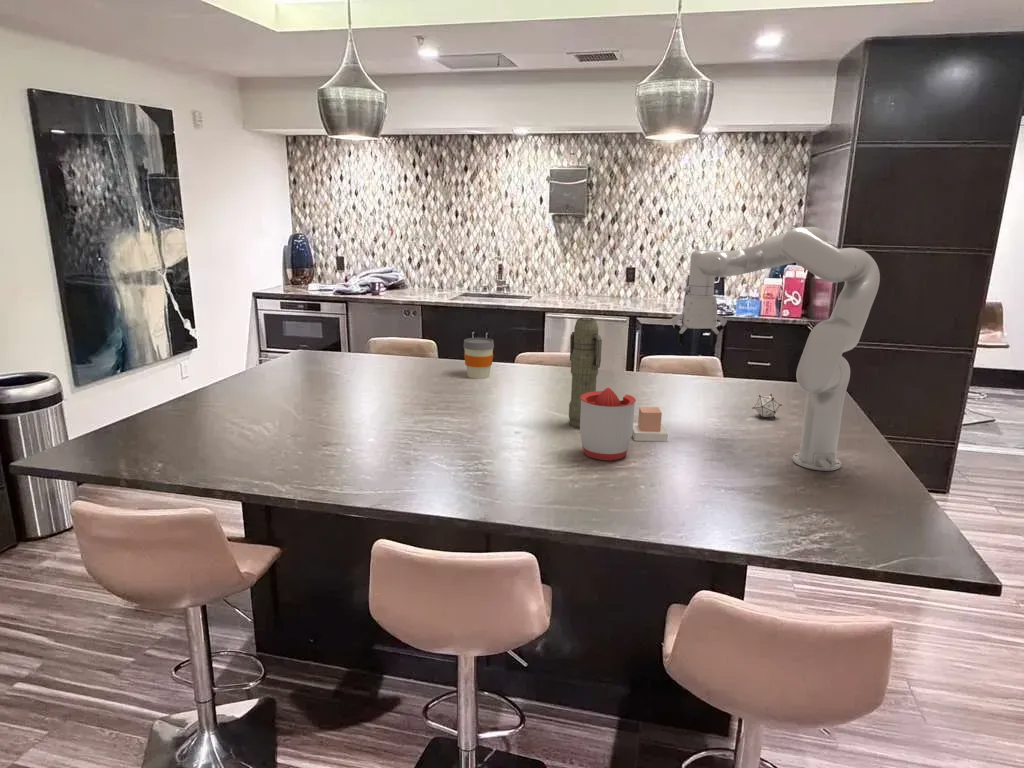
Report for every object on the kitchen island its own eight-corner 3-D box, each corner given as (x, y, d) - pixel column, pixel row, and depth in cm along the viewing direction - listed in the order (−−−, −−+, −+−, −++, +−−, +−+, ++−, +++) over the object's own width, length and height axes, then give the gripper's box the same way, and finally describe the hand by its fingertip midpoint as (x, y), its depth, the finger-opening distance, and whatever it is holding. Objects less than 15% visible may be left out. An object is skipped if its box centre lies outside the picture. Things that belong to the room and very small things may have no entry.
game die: (769, 429, 243) (784, 411, 235) (746, 419, 244) (760, 401, 236) (773, 411, 249) (787, 393, 241) (750, 401, 250) (763, 383, 242)
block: (667, 441, 217) (667, 433, 216) (634, 440, 217) (635, 433, 216) (661, 431, 227) (661, 423, 226) (629, 430, 227) (630, 423, 226)
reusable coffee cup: (499, 375, 295) (500, 339, 292) (482, 381, 285) (482, 344, 281) (474, 371, 302) (475, 336, 298) (457, 376, 292) (457, 341, 288)
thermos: (575, 418, 239) (579, 314, 230) (604, 425, 231) (610, 319, 223) (559, 423, 232) (563, 317, 224) (589, 431, 225) (594, 322, 216)
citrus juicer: (642, 450, 209) (646, 384, 204) (619, 468, 195) (624, 397, 190) (593, 440, 217) (596, 377, 212) (568, 457, 202) (571, 389, 197)
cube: (660, 431, 218) (661, 412, 217) (640, 431, 218) (642, 412, 217) (657, 425, 224) (658, 407, 223) (637, 425, 224) (639, 406, 223)
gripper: (675, 292, 215) (672, 347, 219) (732, 292, 215) (728, 348, 219) (670, 289, 222) (666, 343, 226) (725, 290, 222) (721, 343, 226)
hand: (696, 345), depth 223 cm, fingers open, 9 cm apart
